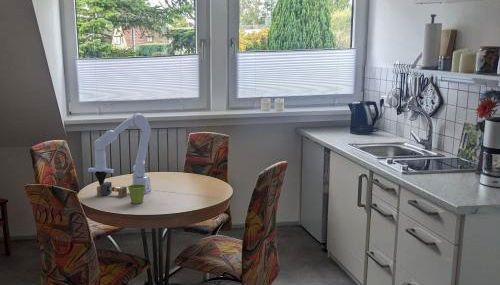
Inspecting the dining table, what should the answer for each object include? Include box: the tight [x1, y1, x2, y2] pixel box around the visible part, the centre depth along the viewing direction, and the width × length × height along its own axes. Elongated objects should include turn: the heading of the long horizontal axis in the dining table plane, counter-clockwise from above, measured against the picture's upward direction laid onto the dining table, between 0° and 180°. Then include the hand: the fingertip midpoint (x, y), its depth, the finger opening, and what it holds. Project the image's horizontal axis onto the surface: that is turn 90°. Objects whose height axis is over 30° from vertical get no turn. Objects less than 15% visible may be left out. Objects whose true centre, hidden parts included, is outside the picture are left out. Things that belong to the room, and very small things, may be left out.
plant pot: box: [127, 184, 146, 205], centre depth 275 cm, size 9×9×9 cm
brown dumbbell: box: [96, 185, 128, 198], centre depth 289 cm, size 15×5×5 cm, turn 74°
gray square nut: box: [100, 181, 113, 196], centre depth 290 cm, size 3×6×6 cm, turn 164°
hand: (101, 185), depth 290 cm, fingers closed
